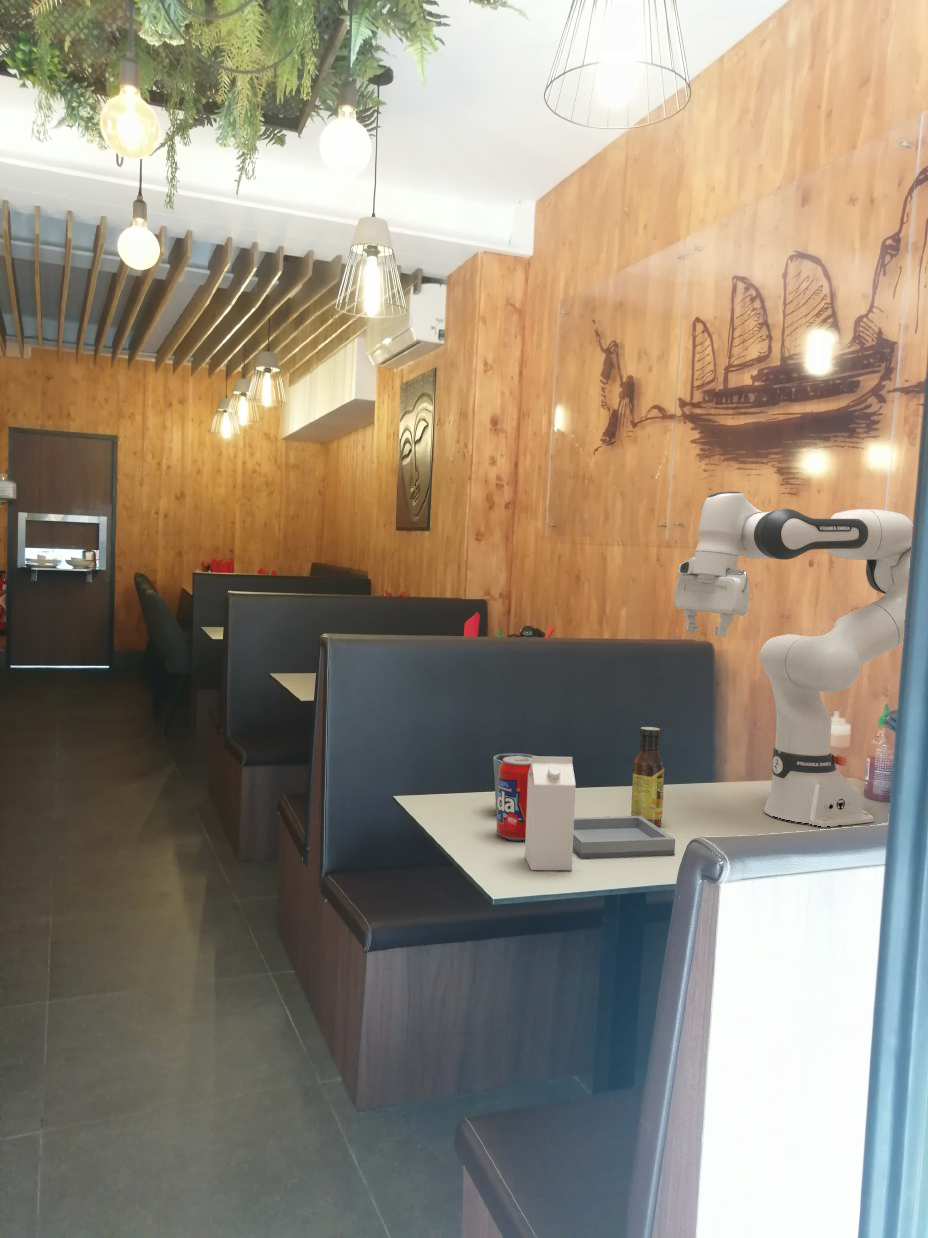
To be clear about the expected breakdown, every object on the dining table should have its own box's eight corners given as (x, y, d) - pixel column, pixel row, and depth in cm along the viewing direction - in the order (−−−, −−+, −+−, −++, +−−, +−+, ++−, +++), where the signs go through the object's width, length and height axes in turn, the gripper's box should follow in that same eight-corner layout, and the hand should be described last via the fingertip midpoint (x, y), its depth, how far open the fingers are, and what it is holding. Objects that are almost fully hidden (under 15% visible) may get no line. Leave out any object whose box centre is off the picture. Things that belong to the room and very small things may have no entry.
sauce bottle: (661, 830, 178) (666, 732, 177) (630, 827, 179) (635, 730, 178) (661, 821, 184) (666, 726, 183) (630, 818, 185) (635, 724, 184)
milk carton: (524, 857, 158) (528, 752, 157) (563, 857, 159) (568, 752, 158) (530, 871, 151) (535, 761, 150) (571, 871, 152) (576, 761, 151)
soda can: (544, 841, 168) (547, 763, 167) (506, 844, 165) (509, 764, 164) (526, 829, 175) (529, 754, 174) (490, 832, 172) (493, 755, 172)
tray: (640, 830, 177) (641, 816, 177) (674, 855, 162) (675, 839, 162) (554, 833, 173) (555, 818, 173) (581, 859, 158) (582, 842, 158)
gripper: (761, 571, 176) (751, 640, 177) (697, 569, 195) (688, 631, 195) (735, 567, 174) (725, 637, 174) (673, 565, 193) (664, 628, 193)
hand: (705, 634), depth 185 cm, fingers open, 8 cm apart
